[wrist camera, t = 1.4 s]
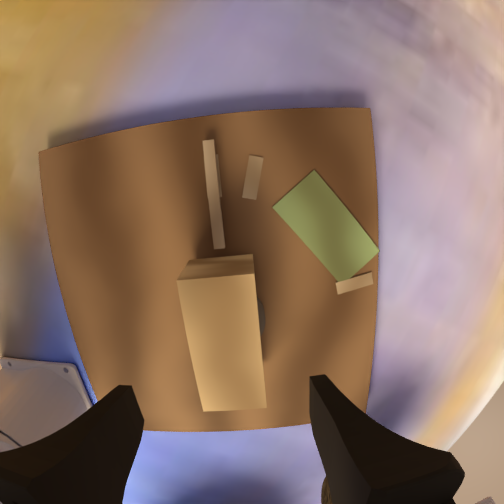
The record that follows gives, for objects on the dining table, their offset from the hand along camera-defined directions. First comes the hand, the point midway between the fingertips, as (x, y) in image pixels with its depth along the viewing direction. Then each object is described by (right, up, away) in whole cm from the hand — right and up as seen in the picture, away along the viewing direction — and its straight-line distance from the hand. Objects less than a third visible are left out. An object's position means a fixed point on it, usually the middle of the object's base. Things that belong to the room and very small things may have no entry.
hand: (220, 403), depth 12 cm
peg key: (0, +5, +7) cm, 9 cm away
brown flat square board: (-1, +3, +9) cm, 10 cm away
